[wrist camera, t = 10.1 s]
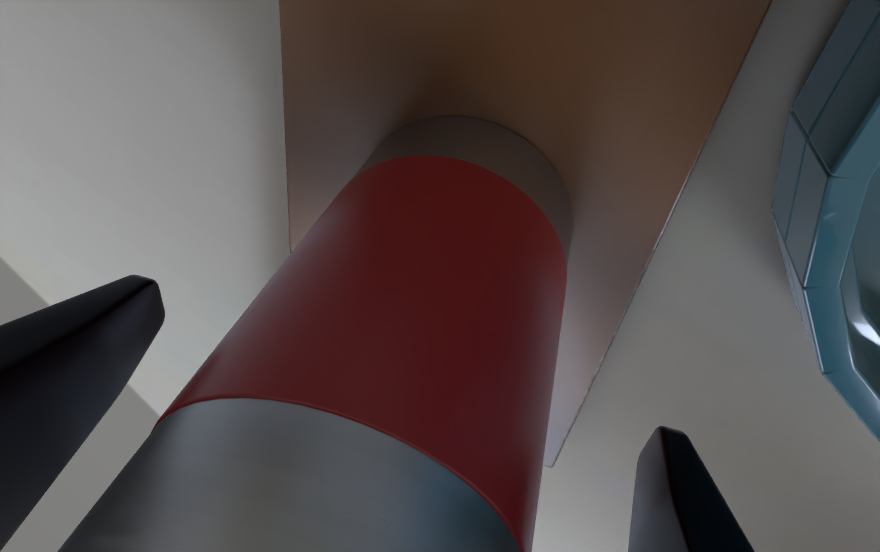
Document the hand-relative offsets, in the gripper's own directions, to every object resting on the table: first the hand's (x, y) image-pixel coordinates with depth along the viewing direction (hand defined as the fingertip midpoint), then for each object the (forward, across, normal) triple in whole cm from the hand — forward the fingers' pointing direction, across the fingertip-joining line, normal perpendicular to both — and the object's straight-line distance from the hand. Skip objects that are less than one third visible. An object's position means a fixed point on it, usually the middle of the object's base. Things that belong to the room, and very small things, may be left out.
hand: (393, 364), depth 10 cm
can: (+5, 0, 0) cm, 5 cm away
